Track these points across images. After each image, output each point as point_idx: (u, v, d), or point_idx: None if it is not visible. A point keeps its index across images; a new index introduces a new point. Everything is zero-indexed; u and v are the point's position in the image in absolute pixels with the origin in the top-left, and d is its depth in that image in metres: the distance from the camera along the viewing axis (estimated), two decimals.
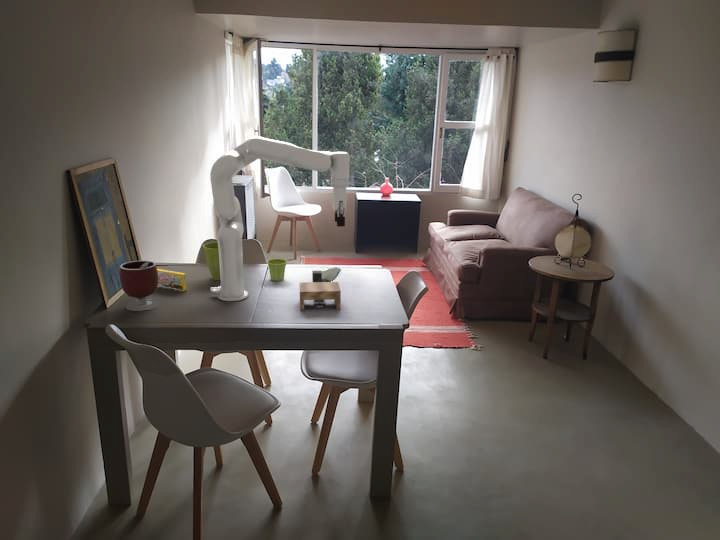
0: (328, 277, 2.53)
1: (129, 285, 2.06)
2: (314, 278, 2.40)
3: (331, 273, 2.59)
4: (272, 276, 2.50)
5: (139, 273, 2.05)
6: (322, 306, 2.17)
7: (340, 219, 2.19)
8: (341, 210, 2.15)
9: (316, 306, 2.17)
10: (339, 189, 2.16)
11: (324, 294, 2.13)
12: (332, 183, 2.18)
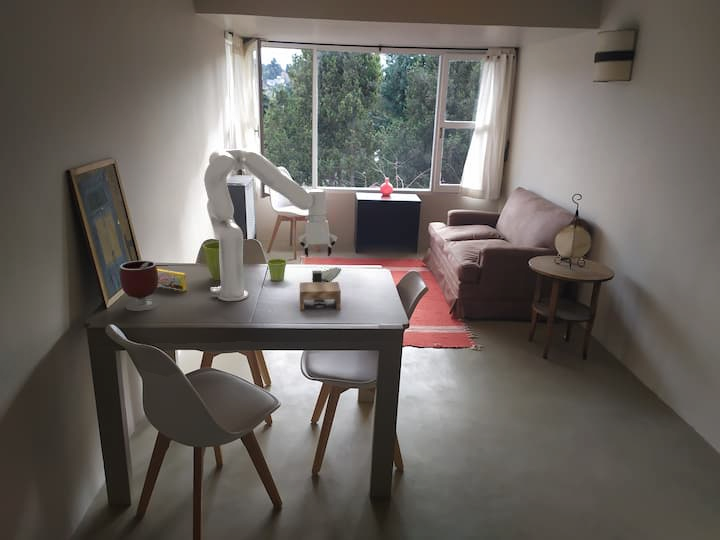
0: (327, 277, 2.53)
1: (129, 285, 2.06)
2: (314, 278, 2.40)
3: (331, 273, 2.59)
4: (272, 276, 2.50)
5: (139, 273, 2.05)
6: (322, 306, 2.17)
7: (330, 249, 2.40)
8: (336, 239, 2.39)
9: (316, 306, 2.17)
10: (327, 222, 2.35)
11: (324, 294, 2.13)
12: (321, 219, 2.32)
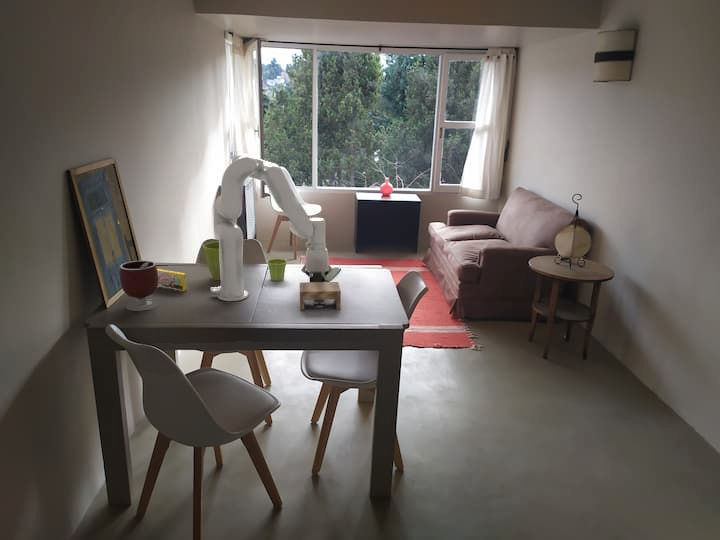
0: (326, 277, 2.53)
1: (129, 285, 2.06)
2: (314, 278, 2.40)
3: (330, 273, 2.59)
4: (272, 276, 2.50)
5: (139, 273, 2.05)
6: (322, 306, 2.17)
7: None
8: None
9: (316, 306, 2.17)
10: None
11: (324, 294, 2.13)
12: (321, 247, 2.35)
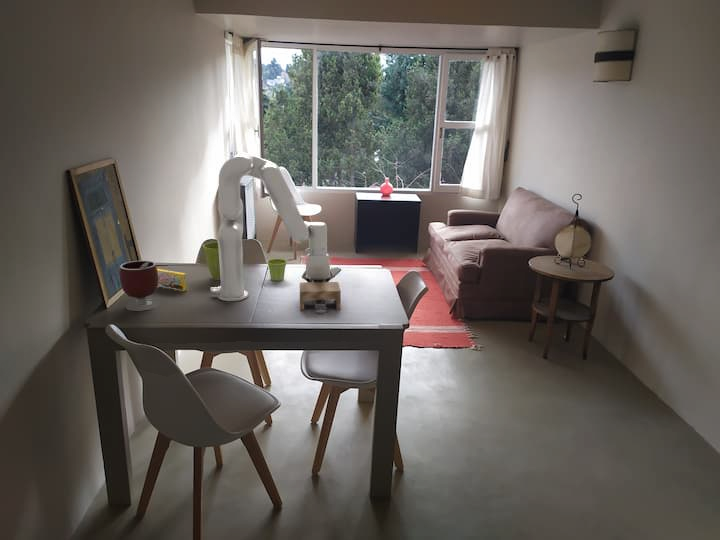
0: None
1: (129, 285, 2.06)
2: None
3: None
4: (272, 276, 2.50)
5: (139, 273, 2.05)
6: (323, 311, 2.11)
7: None
8: None
9: (317, 311, 2.11)
10: (328, 256, 2.29)
11: (324, 294, 2.13)
12: (322, 253, 2.25)
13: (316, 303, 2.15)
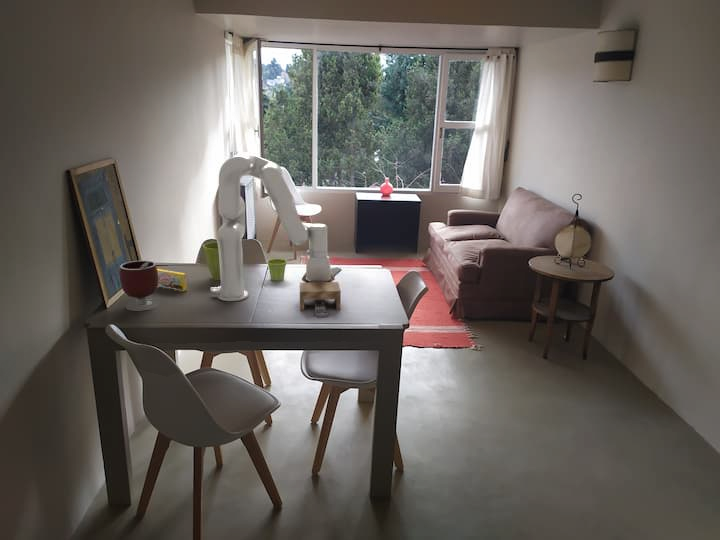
0: None
1: (129, 285, 2.06)
2: None
3: None
4: (272, 276, 2.50)
5: (139, 273, 2.05)
6: (324, 315, 2.08)
7: None
8: None
9: (317, 315, 2.08)
10: None
11: (324, 294, 2.13)
12: (323, 255, 2.22)
13: (316, 306, 2.12)
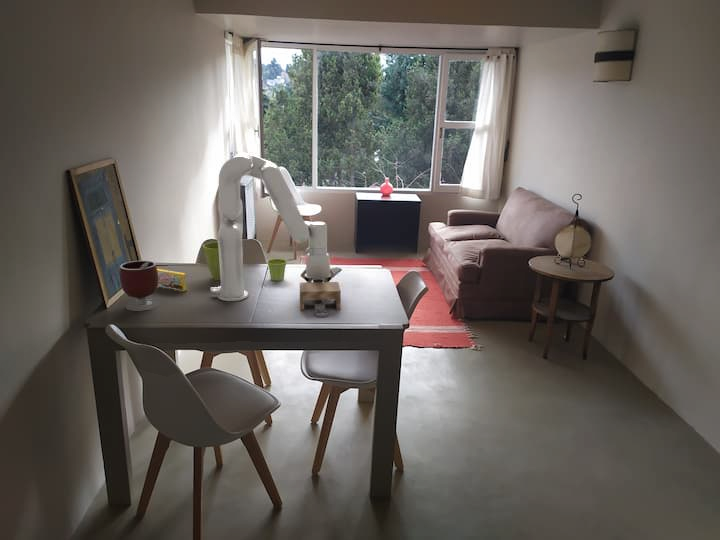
0: None
1: (129, 285, 2.06)
2: None
3: None
4: (272, 276, 2.50)
5: (139, 273, 2.05)
6: (324, 315, 2.08)
7: None
8: None
9: (317, 315, 2.08)
10: (328, 256, 2.29)
11: (324, 294, 2.13)
12: (322, 253, 2.26)
13: (315, 303, 2.16)
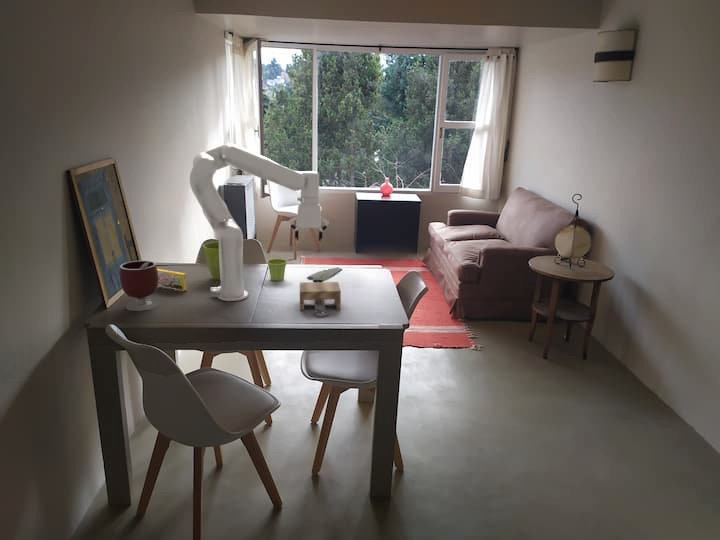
0: (321, 276, 2.54)
1: (129, 285, 2.06)
2: None
3: (327, 273, 2.59)
4: (272, 276, 2.50)
5: (139, 273, 2.05)
6: (323, 315, 2.08)
7: (321, 234, 2.34)
8: None
9: (317, 315, 2.08)
10: None
11: (324, 294, 2.13)
12: (313, 202, 2.26)
13: (315, 303, 2.16)
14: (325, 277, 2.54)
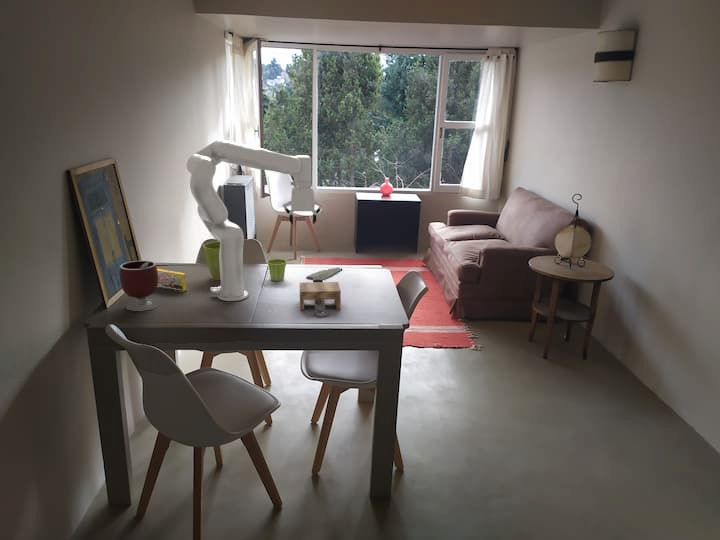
0: (320, 276, 2.54)
1: (129, 285, 2.06)
2: None
3: (326, 273, 2.59)
4: (272, 276, 2.50)
5: (139, 273, 2.05)
6: (323, 315, 2.07)
7: (315, 217, 2.38)
8: (321, 207, 2.37)
9: (317, 315, 2.08)
10: None
11: (324, 294, 2.13)
12: (306, 185, 2.31)
13: (315, 303, 2.16)
14: (324, 277, 2.55)
